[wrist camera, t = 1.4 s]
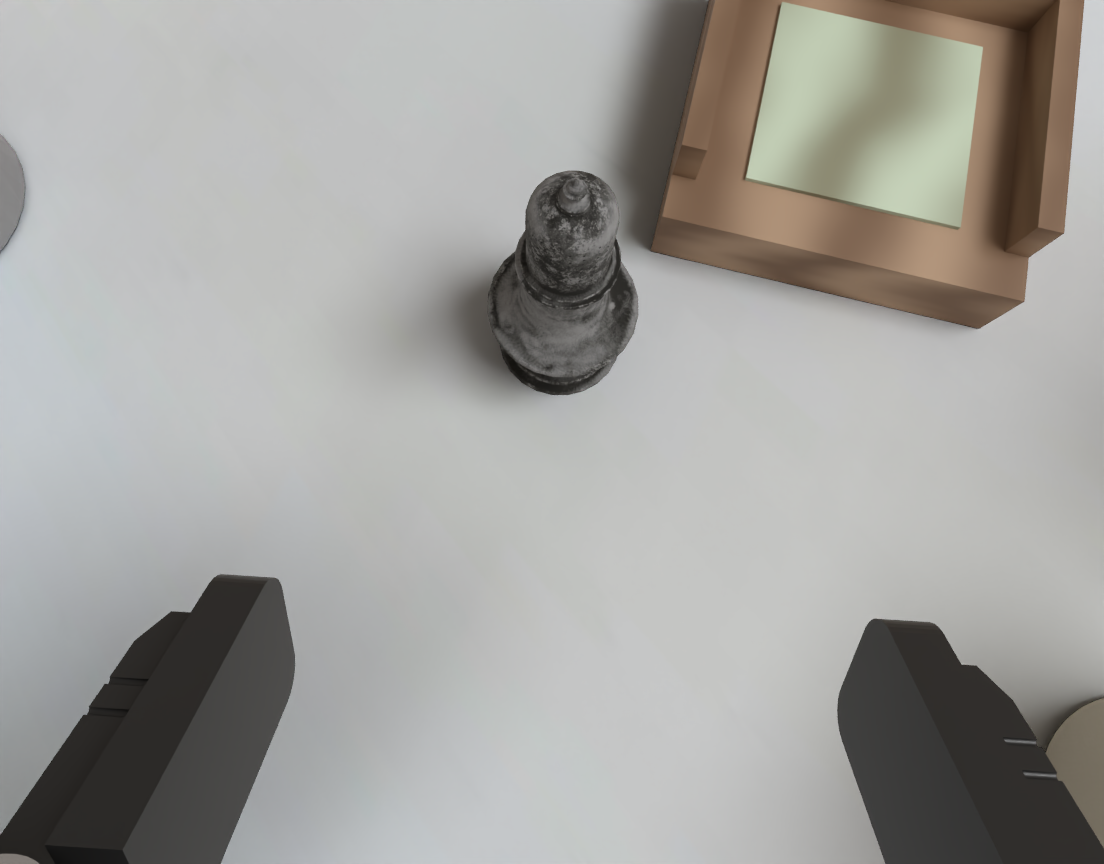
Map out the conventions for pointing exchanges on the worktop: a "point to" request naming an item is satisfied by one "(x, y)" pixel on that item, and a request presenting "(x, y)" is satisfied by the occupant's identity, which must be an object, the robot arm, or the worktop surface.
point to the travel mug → (1082, 761)
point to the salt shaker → (564, 288)
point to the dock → (878, 148)
